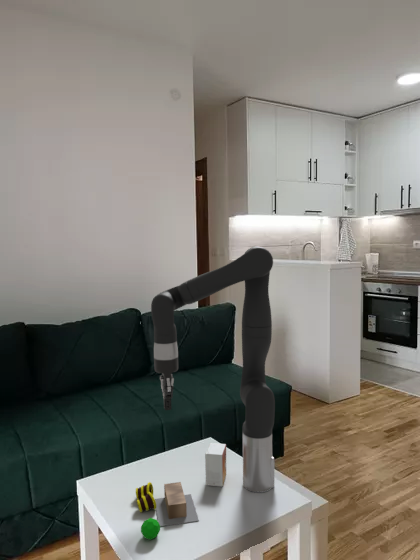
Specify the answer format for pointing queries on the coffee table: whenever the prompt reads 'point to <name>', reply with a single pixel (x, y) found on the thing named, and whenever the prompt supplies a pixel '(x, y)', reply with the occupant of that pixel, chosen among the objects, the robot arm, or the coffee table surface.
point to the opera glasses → (145, 497)
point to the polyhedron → (150, 528)
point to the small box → (215, 464)
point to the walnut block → (175, 500)
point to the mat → (165, 520)
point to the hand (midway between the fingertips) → (167, 409)
